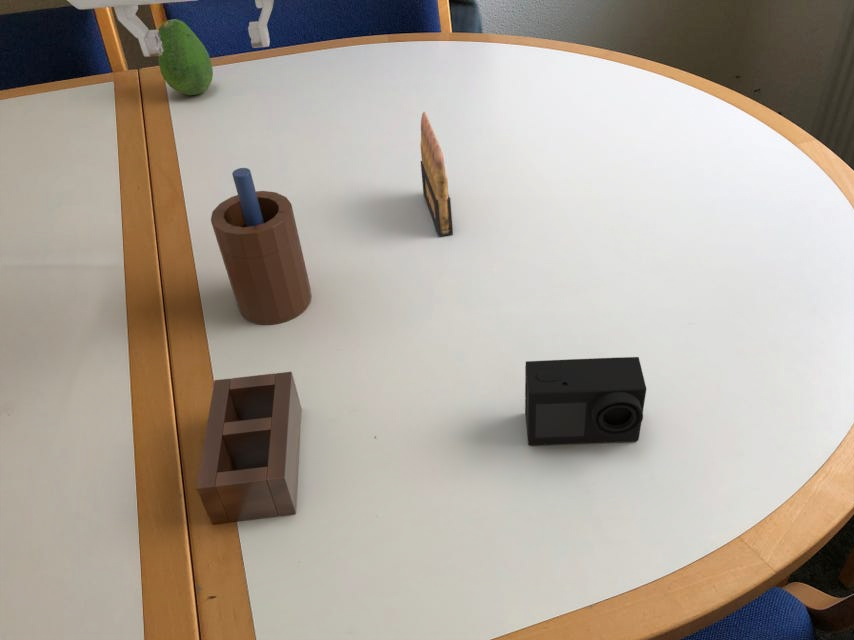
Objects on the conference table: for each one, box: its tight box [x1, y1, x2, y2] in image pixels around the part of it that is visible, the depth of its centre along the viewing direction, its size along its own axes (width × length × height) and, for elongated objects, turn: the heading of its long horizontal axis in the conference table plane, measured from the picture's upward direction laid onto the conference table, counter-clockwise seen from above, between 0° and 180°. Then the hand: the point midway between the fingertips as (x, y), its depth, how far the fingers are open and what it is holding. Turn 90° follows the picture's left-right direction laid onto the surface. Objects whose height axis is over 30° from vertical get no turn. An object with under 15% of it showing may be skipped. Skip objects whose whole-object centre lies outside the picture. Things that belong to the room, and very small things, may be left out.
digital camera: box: [524, 356, 647, 446], centre depth 72 cm, size 10×5×7 cm, turn 91°
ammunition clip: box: [420, 111, 454, 238], centre depth 99 cm, size 11×2×12 cm, turn 13°
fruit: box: [157, 18, 214, 96], centre depth 128 cm, size 8×8×12 cm
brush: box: [231, 167, 264, 227], centre depth 85 cm, size 3×3×16 cm
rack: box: [195, 371, 302, 525], centre depth 72 cm, size 7×13×5 cm, turn 7°
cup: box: [210, 190, 312, 326], centre depth 87 cm, size 8×8×12 cm
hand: (208, 49), depth 71 cm, fingers open, 8 cm apart
